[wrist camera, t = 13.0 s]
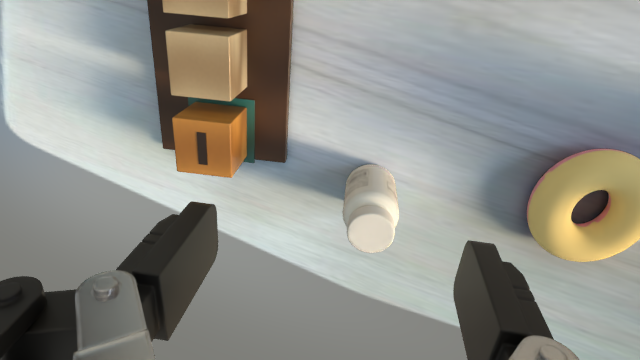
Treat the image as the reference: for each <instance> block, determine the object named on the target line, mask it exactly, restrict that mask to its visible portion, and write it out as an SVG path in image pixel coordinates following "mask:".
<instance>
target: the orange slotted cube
mask: <svg viewBox="0 0 640 360" xmlns="http://www.w3.org/2000/svg"><path fill="white" fill-rule="evenodd" d="M172 122H173V133H174V143H175V154H176V165H177V171H179V172H187V173H196V174H204V175H212V176H221V177H229V178H232V176H233V175H234V174H235V172H236V171H237V169H238V168H239V166H240V165H241V163H242V162H243V161H244V159H245V158H246V156H247V108H246V107H239V106H229V105H220V104H211V103H202V102H194V103H193V104H191V105H190V106H188V107H187V108H186V109H184V110H183V111H181V112H180V113H178V114H177V115H175V116H174V117H173V118H172Z"/></svg>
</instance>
